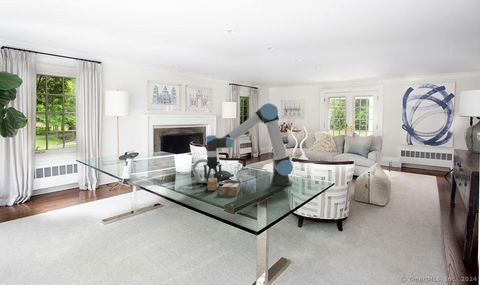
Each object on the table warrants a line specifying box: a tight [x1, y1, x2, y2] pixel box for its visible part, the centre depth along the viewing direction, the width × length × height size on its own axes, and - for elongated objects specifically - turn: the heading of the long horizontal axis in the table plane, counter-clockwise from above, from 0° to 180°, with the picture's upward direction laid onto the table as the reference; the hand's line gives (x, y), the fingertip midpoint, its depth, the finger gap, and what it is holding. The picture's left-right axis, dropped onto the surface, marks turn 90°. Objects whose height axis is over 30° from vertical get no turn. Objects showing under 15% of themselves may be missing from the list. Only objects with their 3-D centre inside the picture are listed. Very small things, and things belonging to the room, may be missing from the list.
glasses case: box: [206, 177, 220, 191], centre depth 197 cm, size 5×14×6 cm, turn 172°
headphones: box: [192, 158, 216, 184], centre depth 216 cm, size 18×10×20 cm, turn 79°
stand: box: [218, 179, 241, 197], centre depth 191 cm, size 12×20×6 cm, turn 171°
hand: (213, 187), depth 197 cm, fingers closed on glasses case, 5 cm apart
